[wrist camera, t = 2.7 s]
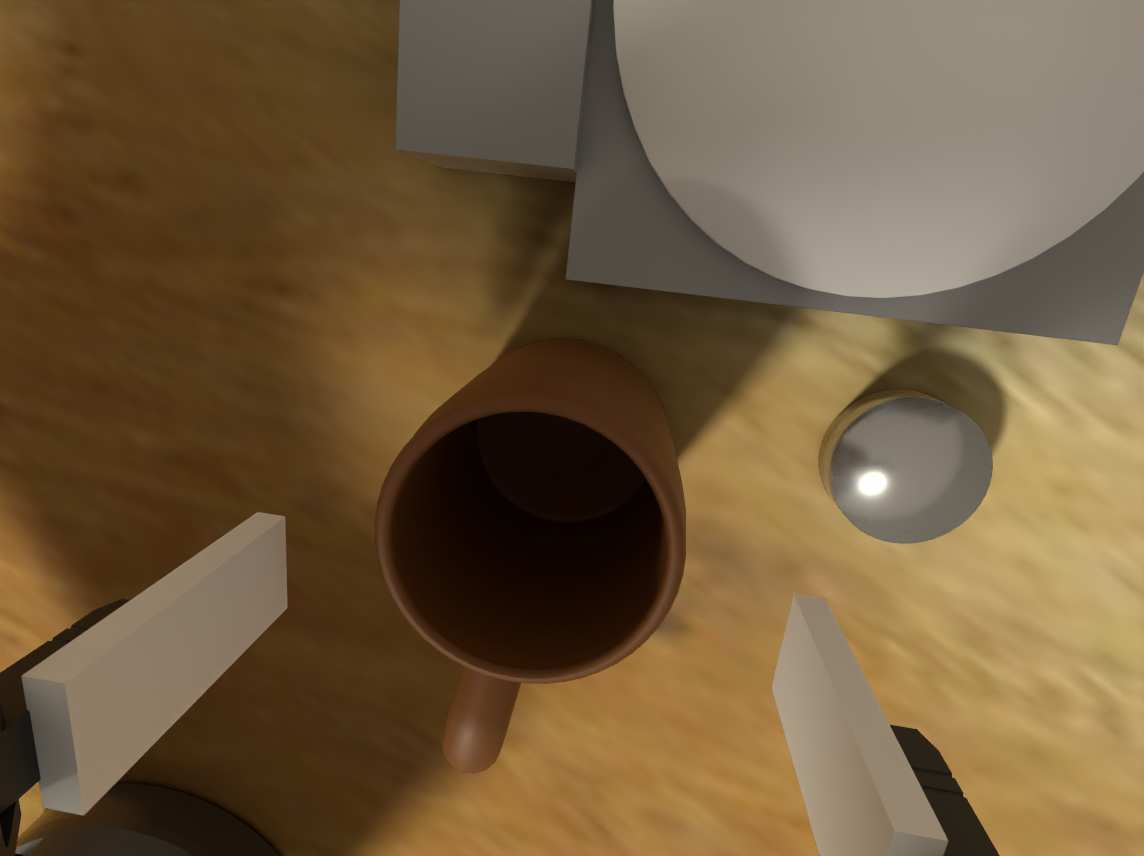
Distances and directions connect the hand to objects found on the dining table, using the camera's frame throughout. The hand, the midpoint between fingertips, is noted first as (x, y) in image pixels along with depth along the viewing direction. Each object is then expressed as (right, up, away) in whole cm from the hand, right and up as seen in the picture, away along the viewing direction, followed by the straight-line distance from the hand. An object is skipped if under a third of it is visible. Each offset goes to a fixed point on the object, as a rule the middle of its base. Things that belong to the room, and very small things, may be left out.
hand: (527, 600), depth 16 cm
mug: (0, +2, +8) cm, 9 cm away
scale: (+7, +17, +3) cm, 18 cm away
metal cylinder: (+13, +3, +7) cm, 15 cm away
